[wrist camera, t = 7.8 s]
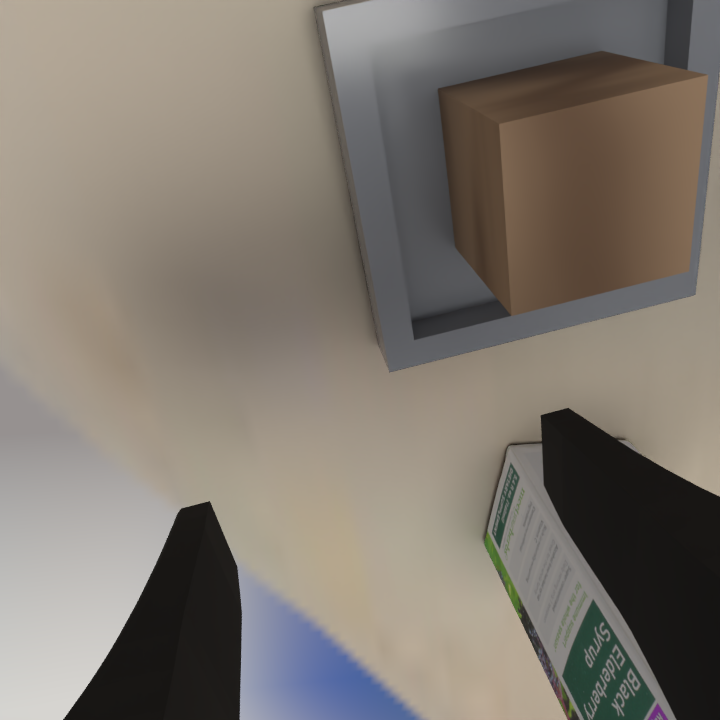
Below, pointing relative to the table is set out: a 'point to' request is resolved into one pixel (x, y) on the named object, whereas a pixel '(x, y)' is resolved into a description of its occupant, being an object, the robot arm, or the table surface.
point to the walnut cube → (574, 176)
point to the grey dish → (427, 155)
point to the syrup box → (566, 603)
